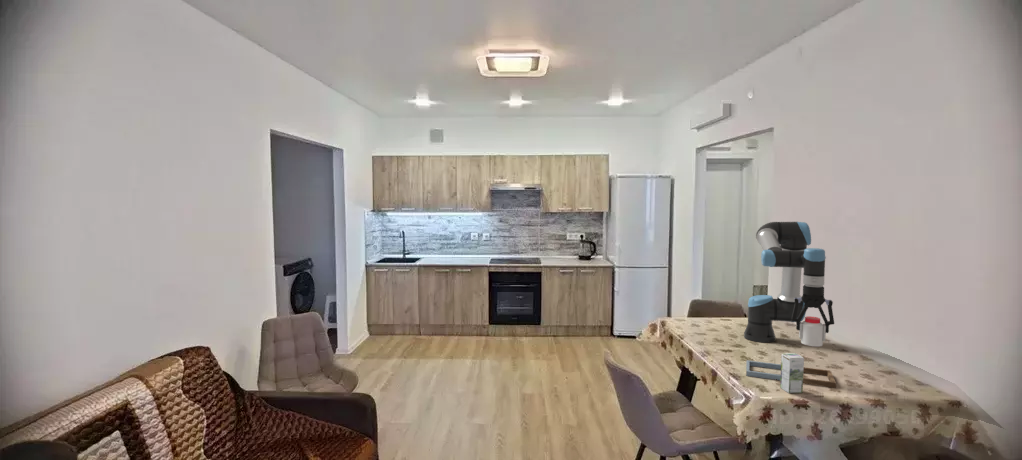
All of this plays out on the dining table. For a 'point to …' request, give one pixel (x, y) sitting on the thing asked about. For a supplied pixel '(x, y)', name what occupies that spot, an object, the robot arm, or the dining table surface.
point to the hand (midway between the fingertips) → (811, 338)
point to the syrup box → (792, 372)
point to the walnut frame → (819, 382)
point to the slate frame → (761, 374)
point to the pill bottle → (812, 331)
